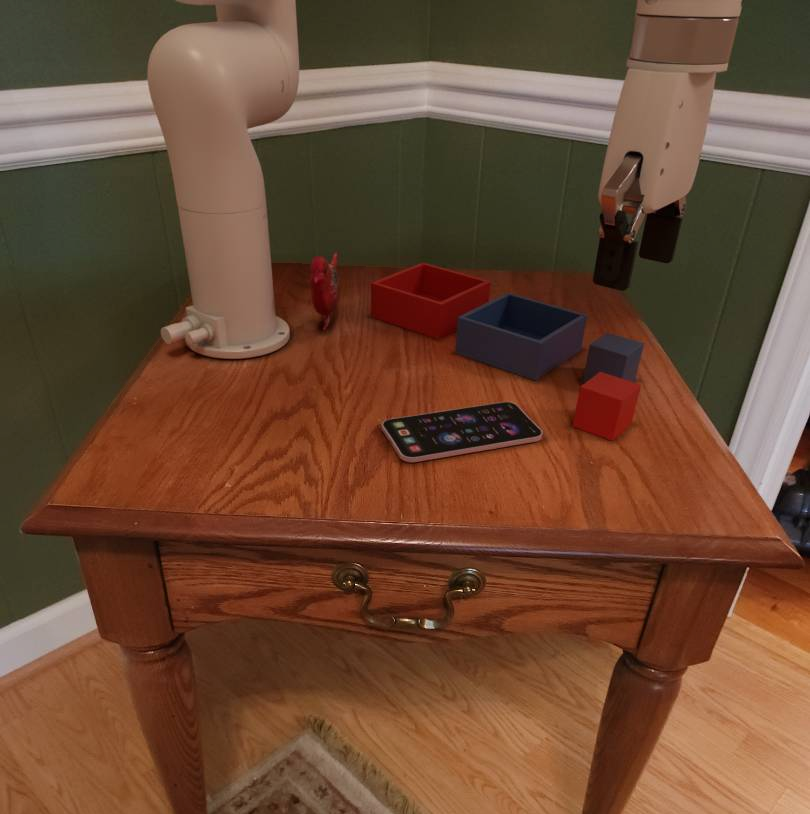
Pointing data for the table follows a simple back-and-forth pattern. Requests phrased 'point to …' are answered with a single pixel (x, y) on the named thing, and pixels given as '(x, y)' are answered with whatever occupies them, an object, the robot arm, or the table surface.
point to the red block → (606, 405)
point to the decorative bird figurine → (324, 286)
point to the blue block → (613, 357)
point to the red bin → (427, 298)
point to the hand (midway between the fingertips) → (633, 272)
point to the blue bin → (520, 335)
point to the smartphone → (460, 431)
